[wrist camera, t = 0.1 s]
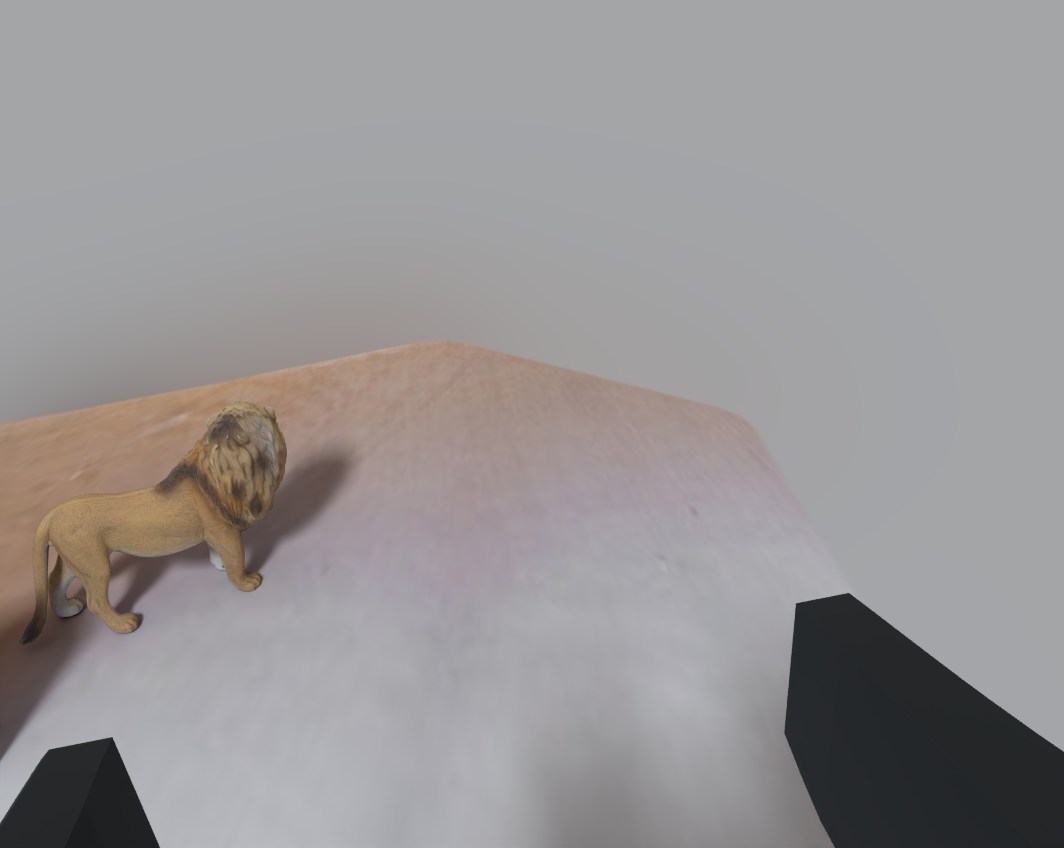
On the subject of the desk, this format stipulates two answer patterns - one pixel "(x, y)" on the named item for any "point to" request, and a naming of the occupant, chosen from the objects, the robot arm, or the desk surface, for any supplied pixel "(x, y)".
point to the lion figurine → (165, 516)
